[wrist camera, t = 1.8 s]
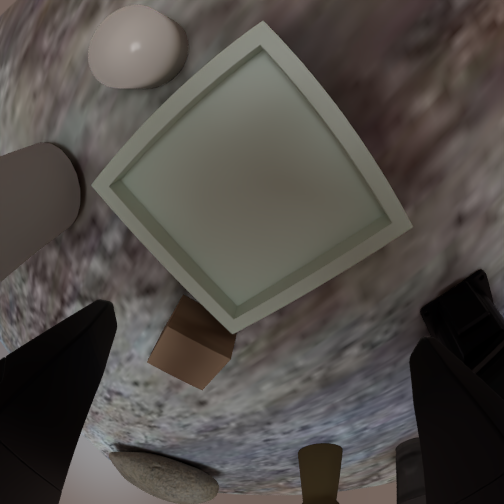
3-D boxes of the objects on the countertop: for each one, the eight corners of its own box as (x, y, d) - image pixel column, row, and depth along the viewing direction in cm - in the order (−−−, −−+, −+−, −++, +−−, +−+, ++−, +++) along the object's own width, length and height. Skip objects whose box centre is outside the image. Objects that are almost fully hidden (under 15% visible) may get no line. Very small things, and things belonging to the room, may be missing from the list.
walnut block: (239, 323, 24) (230, 359, 21) (212, 356, 27) (202, 390, 23) (183, 293, 24) (167, 326, 20) (162, 330, 26) (146, 362, 22)
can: (43, 236, 23) (-49, 313, 12) (15, 160, 20) (-92, 214, 9) (100, 216, 21) (-10, 310, 11) (69, 124, 18) (-68, 171, 7)
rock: (228, 485, 42) (133, 463, 47) (216, 458, 38) (109, 432, 42) (219, 519, 36) (119, 490, 40) (202, 499, 31) (90, 463, 36)
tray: (400, 212, 18) (413, 227, 16) (237, 312, 24) (232, 334, 21) (266, 31, 14) (263, 20, 12) (110, 175, 19) (91, 185, 17)
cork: (340, 459, 35) (341, 526, 25) (297, 461, 36) (293, 528, 26) (345, 441, 32) (347, 517, 22) (297, 444, 33) (292, 520, 23)
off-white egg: (205, 50, 15) (186, 40, 12) (147, 103, 17) (120, 106, 14) (157, 4, 14) (133, -10, 11) (105, 57, 16) (74, 54, 13)
